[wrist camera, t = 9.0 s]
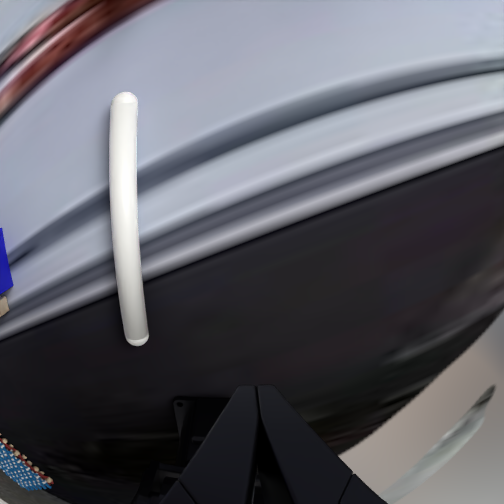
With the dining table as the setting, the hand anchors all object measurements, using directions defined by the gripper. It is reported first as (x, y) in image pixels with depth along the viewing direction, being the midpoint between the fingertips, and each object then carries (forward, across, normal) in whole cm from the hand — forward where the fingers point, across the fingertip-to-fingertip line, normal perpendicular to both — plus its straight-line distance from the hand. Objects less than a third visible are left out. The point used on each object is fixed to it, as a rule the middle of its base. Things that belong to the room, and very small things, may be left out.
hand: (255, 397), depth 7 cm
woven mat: (+13, +32, +30) cm, 46 cm away
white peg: (+12, +7, -2) cm, 14 cm away
